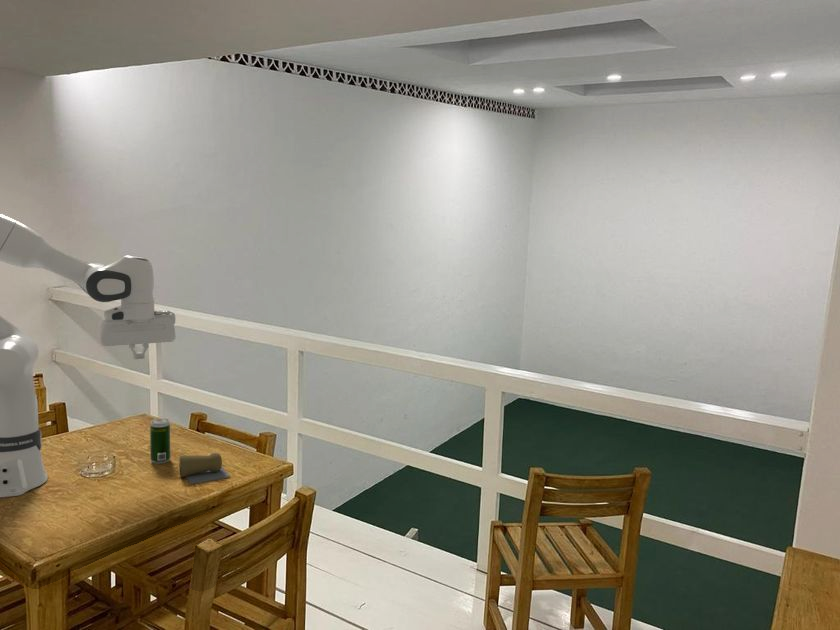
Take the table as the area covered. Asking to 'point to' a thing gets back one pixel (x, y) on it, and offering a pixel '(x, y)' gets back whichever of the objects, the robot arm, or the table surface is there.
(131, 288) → the robot arm
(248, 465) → the table surface
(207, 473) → the mat
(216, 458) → the cork
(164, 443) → the beer can
